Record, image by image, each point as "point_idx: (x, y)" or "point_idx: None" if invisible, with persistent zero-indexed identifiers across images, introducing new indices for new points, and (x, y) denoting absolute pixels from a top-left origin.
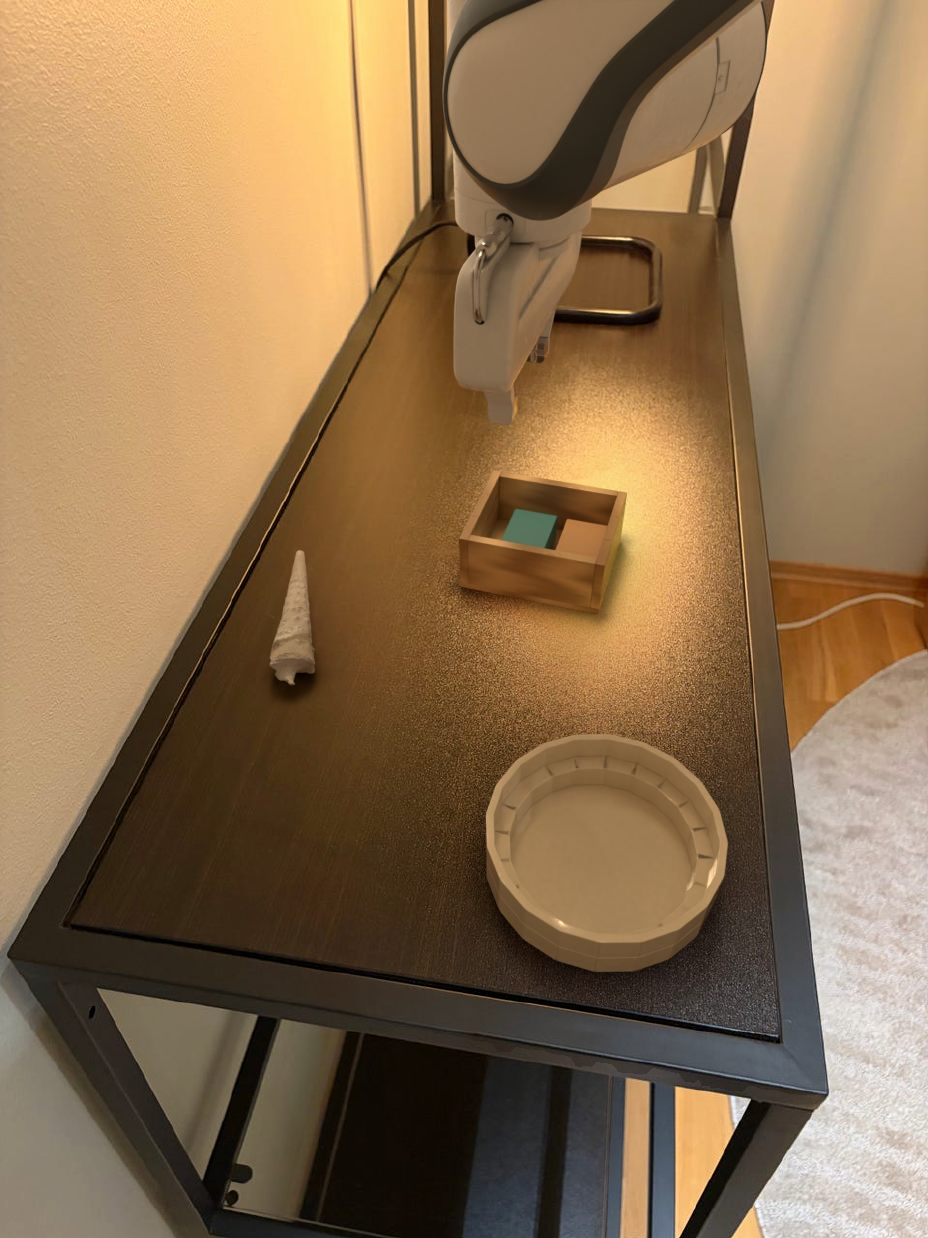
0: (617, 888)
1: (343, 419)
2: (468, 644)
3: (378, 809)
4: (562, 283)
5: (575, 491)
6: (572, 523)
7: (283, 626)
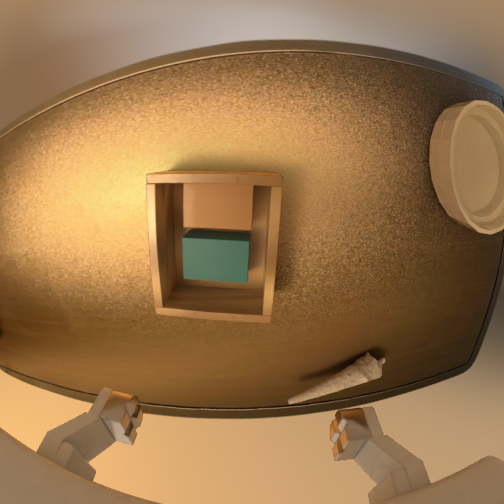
0: (481, 156)
1: None
2: (332, 272)
3: (448, 284)
4: (46, 496)
5: (157, 229)
6: (189, 220)
7: (357, 384)
